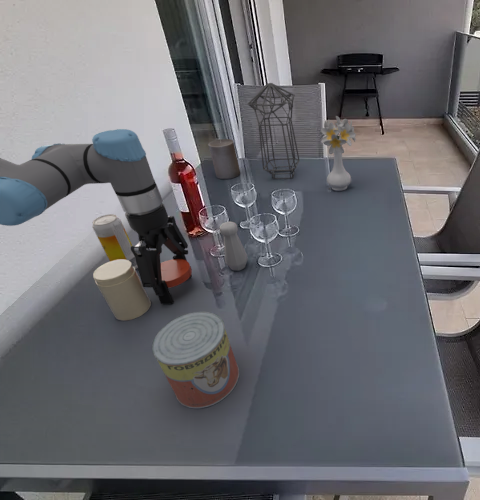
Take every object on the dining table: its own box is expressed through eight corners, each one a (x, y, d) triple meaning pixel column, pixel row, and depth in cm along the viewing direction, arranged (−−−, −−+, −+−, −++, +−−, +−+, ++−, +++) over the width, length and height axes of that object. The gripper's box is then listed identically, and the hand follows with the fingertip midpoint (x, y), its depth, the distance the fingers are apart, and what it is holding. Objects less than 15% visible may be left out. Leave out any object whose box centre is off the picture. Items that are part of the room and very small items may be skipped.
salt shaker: (222, 270, 92) (210, 228, 85) (235, 258, 96) (224, 217, 89) (241, 274, 90) (230, 231, 83) (253, 262, 95) (244, 220, 87)
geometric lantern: (299, 182, 138) (288, 86, 118) (260, 183, 138) (242, 87, 118) (304, 167, 151) (294, 78, 131) (268, 168, 151) (253, 79, 131)
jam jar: (106, 317, 78) (82, 277, 72) (131, 295, 85) (112, 256, 78) (134, 323, 77) (113, 282, 70) (158, 300, 83) (140, 261, 76)
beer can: (125, 260, 97) (102, 212, 88) (145, 262, 96) (124, 214, 87) (110, 274, 92) (84, 225, 83) (131, 275, 91) (107, 226, 82)
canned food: (195, 421, 58) (172, 377, 51) (163, 383, 64) (139, 339, 57) (251, 376, 65) (238, 332, 58) (218, 345, 71) (202, 302, 64)
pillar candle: (233, 168, 152) (225, 134, 143) (244, 174, 146) (237, 139, 137) (212, 175, 147) (202, 139, 138) (222, 181, 141) (213, 144, 132)
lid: (199, 268, 86) (197, 262, 85) (174, 291, 79) (171, 285, 78) (170, 262, 88) (167, 256, 87) (143, 284, 81) (140, 278, 80)
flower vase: (325, 200, 124) (320, 129, 110) (321, 180, 139) (316, 115, 125) (361, 197, 126) (361, 126, 111) (354, 177, 141) (352, 112, 126)
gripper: (154, 186, 82) (183, 262, 95) (92, 234, 64) (137, 321, 77) (184, 186, 82) (209, 263, 94) (130, 235, 64) (170, 322, 77)
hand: (177, 289), depth 86 cm, fingers closed on lid, 9 cm apart
